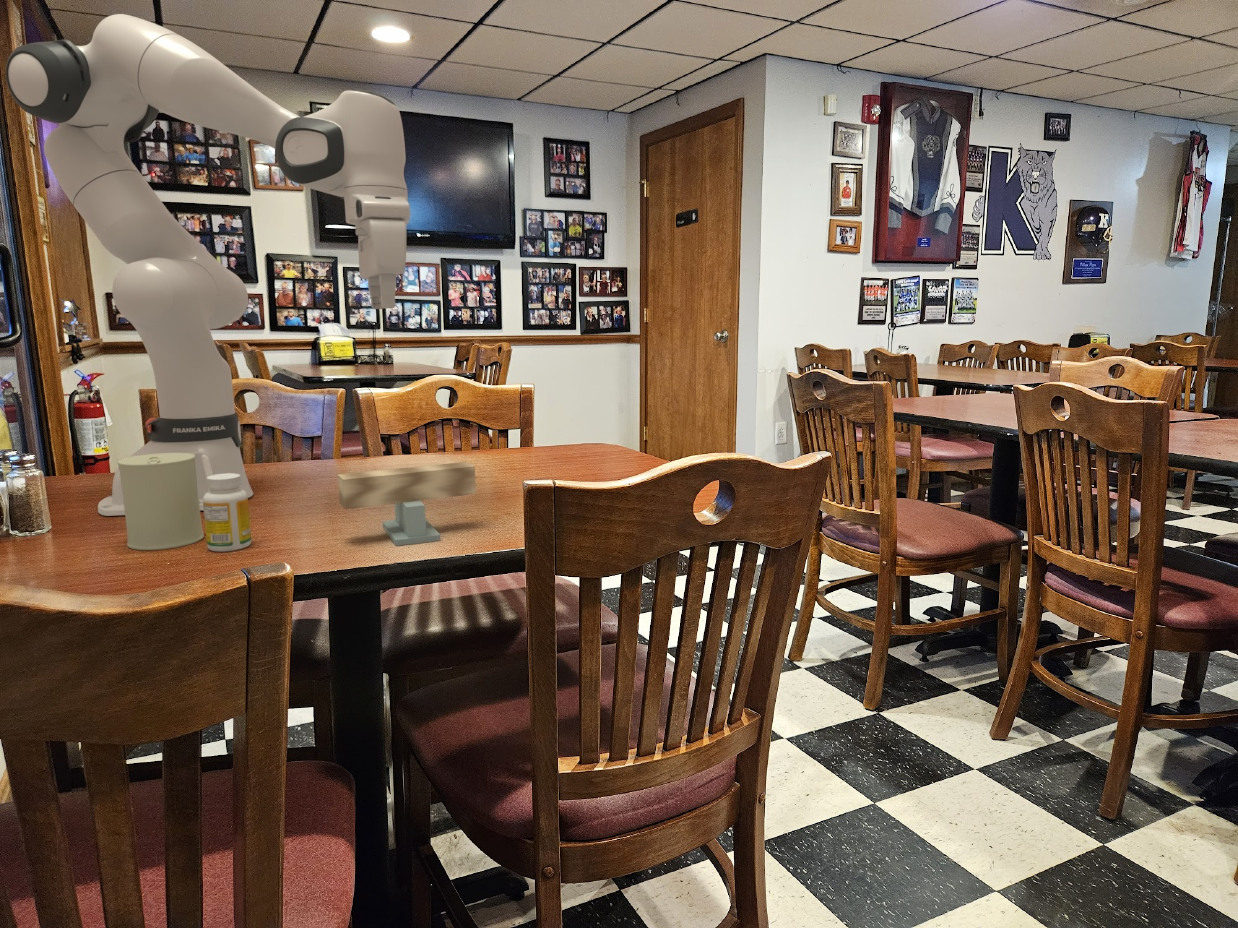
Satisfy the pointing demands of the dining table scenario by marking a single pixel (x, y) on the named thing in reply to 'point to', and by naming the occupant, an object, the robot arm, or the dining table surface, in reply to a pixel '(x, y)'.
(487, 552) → the dining table surface
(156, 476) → the can
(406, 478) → the plank
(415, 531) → the ridge
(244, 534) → the supplement bottle
